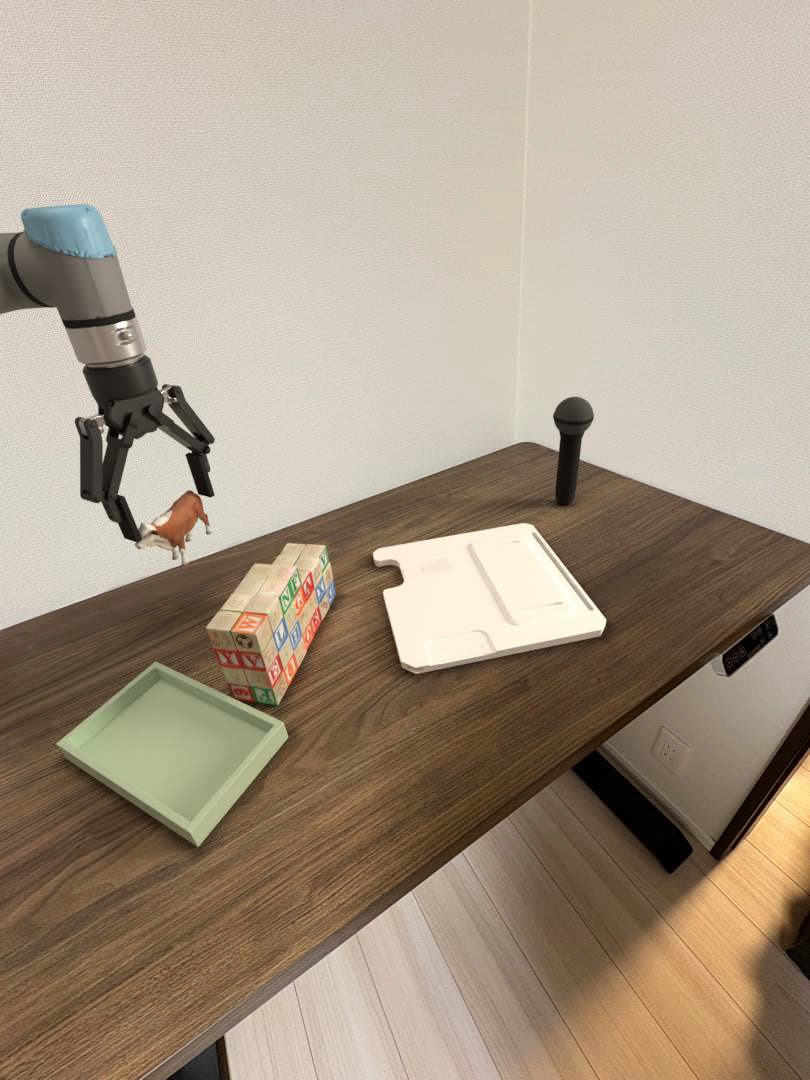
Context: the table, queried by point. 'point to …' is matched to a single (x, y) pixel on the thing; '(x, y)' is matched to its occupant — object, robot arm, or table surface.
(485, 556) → the tray
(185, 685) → the tray
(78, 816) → the table surface
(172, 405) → the robot arm
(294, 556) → the stack of blocks
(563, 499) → the microphone
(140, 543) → the bull figurine
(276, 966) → the table surface
